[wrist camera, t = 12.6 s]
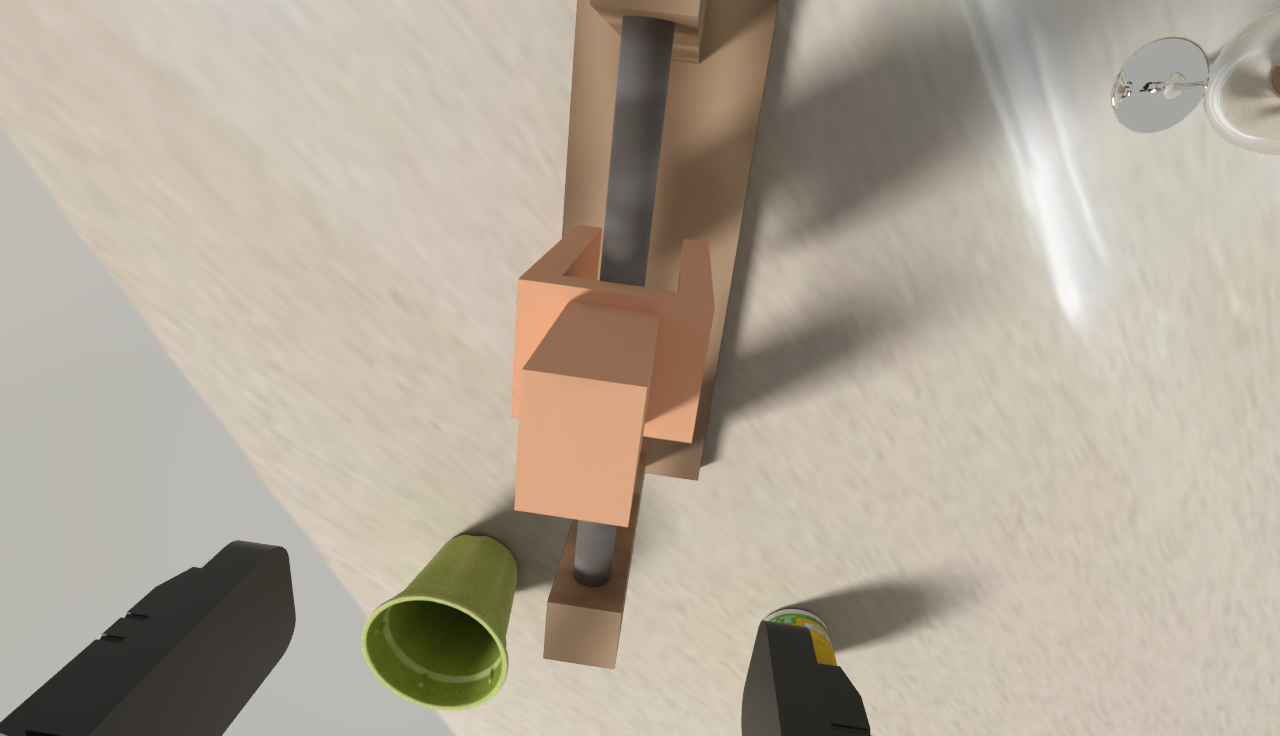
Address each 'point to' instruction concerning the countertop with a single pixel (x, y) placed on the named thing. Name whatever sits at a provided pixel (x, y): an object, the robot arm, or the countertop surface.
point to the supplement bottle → (816, 628)
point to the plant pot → (447, 628)
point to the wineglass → (1208, 86)
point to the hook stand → (654, 224)
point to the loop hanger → (602, 376)
